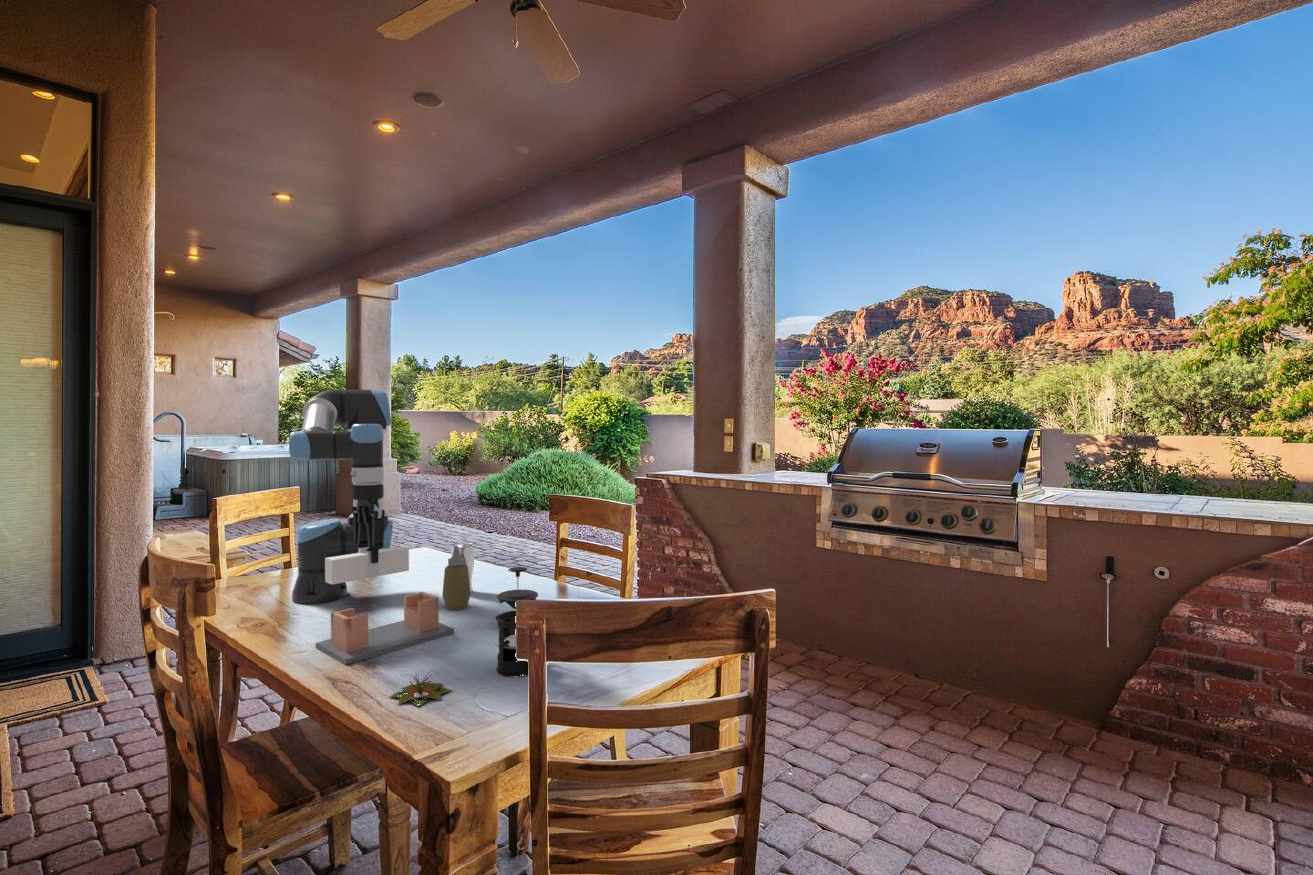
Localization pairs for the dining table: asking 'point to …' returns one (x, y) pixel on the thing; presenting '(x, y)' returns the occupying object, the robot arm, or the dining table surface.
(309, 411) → the robot arm
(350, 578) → the slat
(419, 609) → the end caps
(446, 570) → the squeeze bottle
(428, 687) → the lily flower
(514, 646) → the french press
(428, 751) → the dining table surface
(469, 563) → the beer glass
